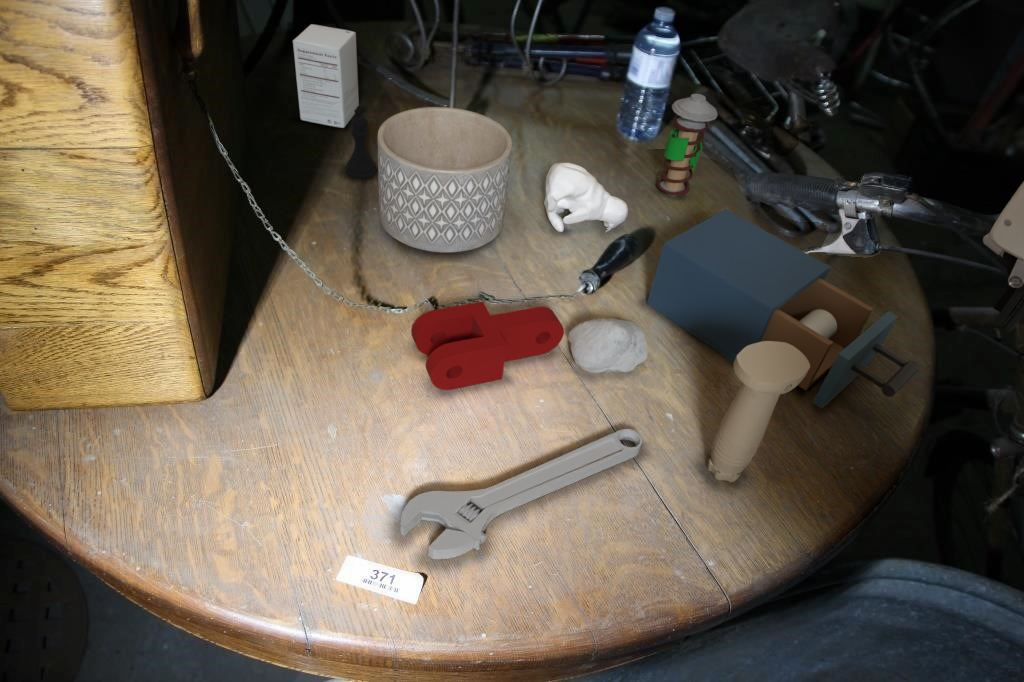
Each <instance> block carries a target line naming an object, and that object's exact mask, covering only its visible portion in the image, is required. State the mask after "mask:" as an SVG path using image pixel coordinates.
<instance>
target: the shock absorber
mask: <svg viewBox="0 0 1024 682" xmlns="http://www.w3.org/2000/svg"><path fill="white" fill-rule="evenodd" d="M671 109H672V111H673V113H674V114H676V115H677V116H675V117H674V119H673V122H674V123H673V127H674V128H675V129H673V130H671V131H670V133H669V135H668V138H667V142H666V145H665V148H664V150H663V151H664V152H663V157H664V158H666V159H665V160H664V161H663V165H664V166H665V167H666V168H668V170H664V171H662V172H660V175H659V176H660V179H658V181H657V182H656V185H657V188H658V189H659V190H660V191H661V192H663V193H665V194H666V195H668V196H671V197H679V196H684V195H687V194H688V193H689V192H690V182H689V181H690V180H692V178H693V177H694V176H693V175H694V172H695V170H696V168H697V164H698V162H699V159H700V156H701V153H702V151H703V145H702V142H703V141H704V139H705V132H706V131H707V130H708V129H709V124H708V122H712V121H715V120H716V119H717V118H718V115H719V114H718V111H717V109H716V107H715V106H713V105H712V104H711V103H709V101H707V97H706V96H705V95H704V94H701V93H693V94H691V95H690V96H688V97H685V98H681V99H677V100H676V101H674V102H673V103H672V105H671ZM699 134H700V138H699V137H698V135H699ZM668 163H670V164H668ZM687 172H689V175H688V177H687ZM665 175H666V176H665Z"/></svg>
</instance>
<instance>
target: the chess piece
mask: <svg viewBox="0 0 1024 682" xmlns="http://www.w3.org/2000/svg"><path fill="white" fill-rule="evenodd" d="M362 111H363V106H360V105H359V106H357V108H356V109H355V111H354V112H355V114H354V116H353V117H352V118H351V120H350V125H351V128H352V129H351V130H350V134H351V136H352V138H353V140H354V150H353V152H352V154H351V156H350V158H349V160H348V161H347V163H346V166H345V168H344V171H345V173H346V175H347V176H348V177H350V178H352V179H356V180H366V179H367V180H368V179H371V178H373V177H375V176H376V174H377V171H378V169H377V166H376V165H375V163H374V161H373V159H372V158H371V156H370V154H369V152H368V151H367V148H366V139H367V137H368V134H369V130H368V129H367V128H368V124H369V122H368V119H367V118H366V117H365V115H363V114H362Z"/></svg>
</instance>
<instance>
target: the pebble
mask: <svg viewBox="0 0 1024 682" xmlns="http://www.w3.org/2000/svg"><path fill="white" fill-rule="evenodd" d="M646 336H647V335H646V334H645V331H643V330H642V329H641V327H639V325H637V324H635V323H633V322H632V321H630V320H629V321H628V320H624V319H618V318H609V317H601V318H595V319H593V318H592V319H590V320H585V321H582V322H580V323H578V324H576V326H574V327H572V328H571V330H570V331H569V333H568V336H567V337H568V341H569V342H570V351H571V355H572V358H573V361H574V362H575V364H576V365H577V366H578V367H579V368H581V369H582V370H583V371H586V372H588V373H590V374H599V373H601V374H602V373H611V372H613V373H617V372H618V373H623V374H625V373H629V372H631V371H633V370H634V369H635V368H636V367H637V366H640V365H641V364H643V363H644V362H645V361H646V359H648V357H649V354H648V345H647V343H646Z"/></svg>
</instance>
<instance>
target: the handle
mask: <svg viewBox="0 0 1024 682" xmlns="http://www.w3.org/2000/svg"><path fill="white" fill-rule="evenodd" d="M732 366H733V372H734V374H735V376H736V377H737V378H738V380H739V381H740V382H741V384H740V386H739V387H738V390H737V392H736V394H735V396H734V398H733V399H732V401H731V403H730V405H729V407H728V409H727V411H726V413H725V414H724V416H723V418H722V420H721V421H720V424H719V427H718V429H717V432H716V434H715V437H714V440H713V443H712V448H711V451H710V452H711V453H710V456H711V457H710V458H709V459H708V463H707V469H708V472H711V473H712V475H713V478H714V479H715V480H717V481H727V482H729V483H734V482H736V481H737V479H739V477H740V476H741V473H742V472H743V471H744V470H745V469H746V468H747V466H748V465H749V464H750V462H751V461H752V460H753V457H754V456H755V454H756V453H757V451H758V449H759V447H760V446H761V443H762V441H763V439H764V436H765V433H766V431H767V428H768V425H769V423H770V420H771V417H772V415H773V413H774V410H775V407H776V405H777V403H778V401H779V398H780V396H781V395H785V394H787V393H789V392H791V391H792V390H794V389H795V388H796V387H797V386H798V384H799V383H800V382H801V381H802V380H803V379H804V377H805V376H806V374H807V373H808V371H809V369H810V364H809V361H808V360H807V358H806V357H805V356H804V354H803V353H802V352H800V351H799V350H798V349H797V348H795V347H794V346H792V345H790V344H788V343H786V342H776V341H763V342H758V343H754V344H751V345H748V346H746V347H745V348H744V349H743V350H742V351H741V352H740V353H739V354H738V355H737V356H736V358H735V361H734V362H733V365H732Z"/></svg>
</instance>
